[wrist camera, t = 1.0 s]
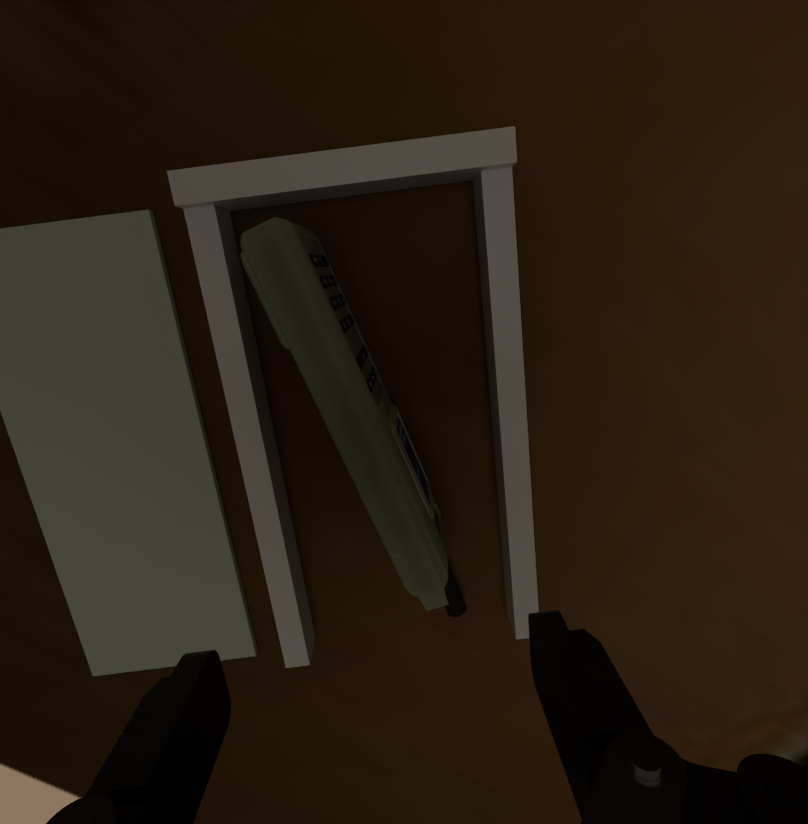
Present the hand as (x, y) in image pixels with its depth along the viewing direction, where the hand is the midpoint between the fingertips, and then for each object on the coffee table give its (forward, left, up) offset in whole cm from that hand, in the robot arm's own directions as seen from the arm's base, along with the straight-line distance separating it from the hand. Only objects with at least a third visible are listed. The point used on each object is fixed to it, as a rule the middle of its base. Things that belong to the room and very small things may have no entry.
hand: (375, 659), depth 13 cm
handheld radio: (0, 0, -18) cm, 19 cm away
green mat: (-16, 0, -18) cm, 24 cm away
